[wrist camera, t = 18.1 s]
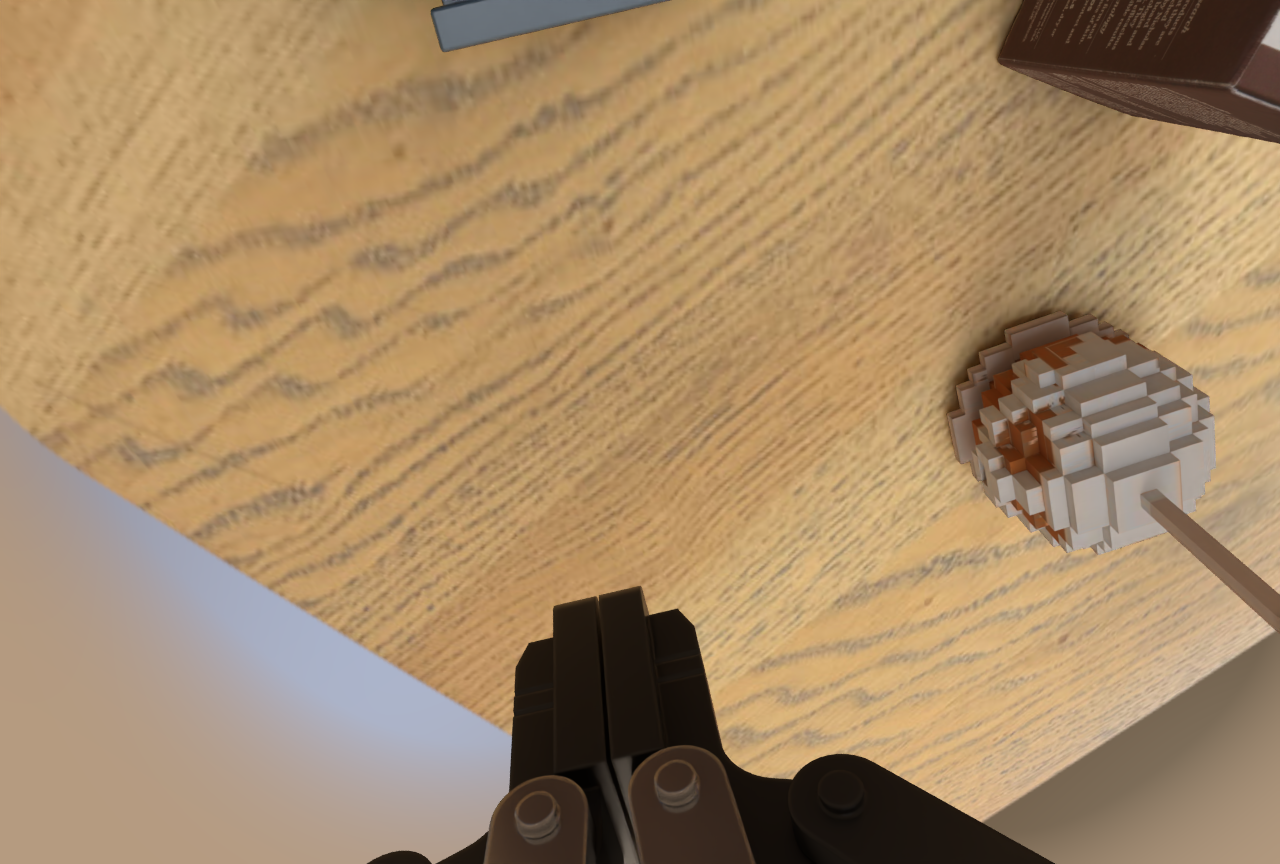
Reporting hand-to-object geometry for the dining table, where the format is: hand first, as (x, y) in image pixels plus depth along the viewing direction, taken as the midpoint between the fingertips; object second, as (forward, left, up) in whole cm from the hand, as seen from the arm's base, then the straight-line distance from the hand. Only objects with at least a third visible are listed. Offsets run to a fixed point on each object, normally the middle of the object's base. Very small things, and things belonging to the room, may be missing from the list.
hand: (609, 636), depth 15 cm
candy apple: (+17, -9, -20) cm, 28 cm away
